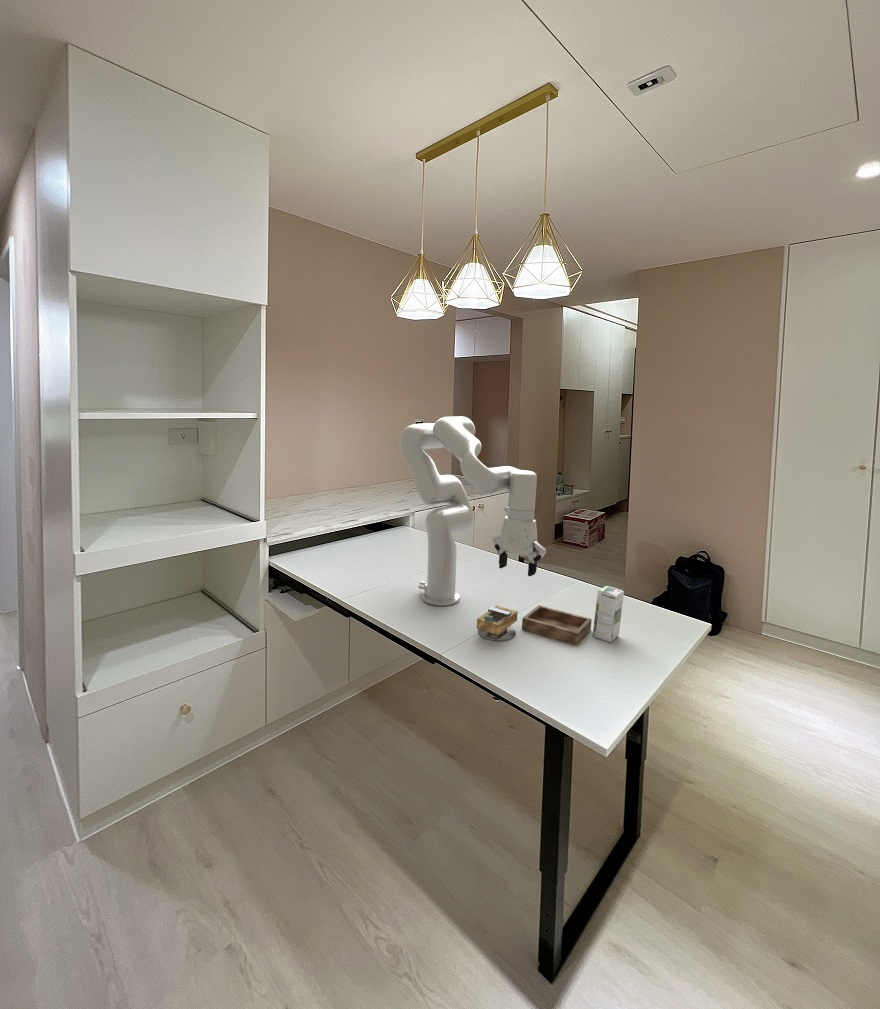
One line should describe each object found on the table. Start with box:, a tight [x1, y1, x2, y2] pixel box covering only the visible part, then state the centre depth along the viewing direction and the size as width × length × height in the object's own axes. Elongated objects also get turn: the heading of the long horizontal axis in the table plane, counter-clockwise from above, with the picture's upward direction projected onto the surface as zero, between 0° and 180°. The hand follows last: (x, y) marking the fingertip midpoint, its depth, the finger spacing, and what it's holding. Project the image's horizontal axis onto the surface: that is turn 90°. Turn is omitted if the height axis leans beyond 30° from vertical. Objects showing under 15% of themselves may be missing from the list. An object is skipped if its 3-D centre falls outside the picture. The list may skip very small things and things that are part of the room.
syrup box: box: [592, 585, 625, 643], centre depth 155 cm, size 6×6×14 cm
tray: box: [521, 604, 593, 646], centre depth 159 cm, size 17×12×4 cm
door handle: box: [477, 606, 517, 642], centre depth 156 cm, size 11×11×7 cm
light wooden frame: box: [476, 605, 518, 635], centre depth 156 cm, size 7×12×4 cm, turn 147°
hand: (516, 571), depth 156 cm, fingers open, 9 cm apart
